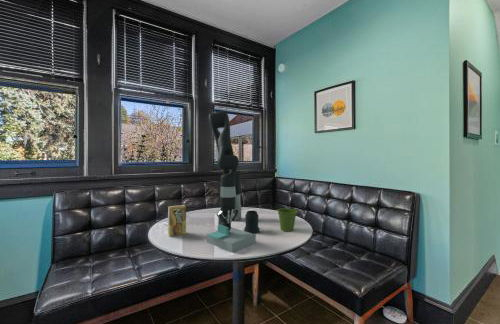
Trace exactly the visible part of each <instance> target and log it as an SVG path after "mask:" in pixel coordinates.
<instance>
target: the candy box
mask: <svg viewBox="0 0 500 324" xmlns="http://www.w3.org/2000/svg"><path fill="white" fill-rule="evenodd" d="M167 209H168V210H167V211H168V212H167V220H168V221H167V234H168V236H169V237H174V236H175V237H176V236H180V235H181V236H182V235H186V234H187V206H186V205H185V204H181V205H171V206H168V207H167Z"/></svg>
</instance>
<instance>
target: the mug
mask: <svg viewBox="0 0 500 324" xmlns="http://www.w3.org/2000/svg"><path fill="white" fill-rule="evenodd" d="M259 216H260V215H259V214H258V212H257V210H247V211H246V213H245V217H244V221H245V226H244V228H243V231H246V232H249V233H252V234H258V233H259V234H260V232H261V231H260V227H259Z"/></svg>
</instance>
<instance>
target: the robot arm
mask: <svg viewBox="0 0 500 324" xmlns="http://www.w3.org/2000/svg"><path fill="white" fill-rule="evenodd" d="M208 121H209V124H210V127H211V130H212V133H213V136H214V139H215V144H216V148H217V152H218V156H217V162H216V164H217V167H218V168H219V169H220V170H222V173H223V174H222V175H221V176H220V189H219V190H220V194H219V195H220V196H219V197H220V198H219V200H220V201H219V203H220V211H219V212H218V213H216V217H218V218H219V219H220V221H221V222H223V223H225V226H226V227H229V231H230V229H231V227H232V222H237V221H240V220H241V219H242V204H241V188H242V173H241V170H238V168H239V164H240V159H239V157H238V156H237V155H236V154H234V148H233V145H232V140H231V127H230V117H229V115H228V111H226V110H220V111H215V112H211V113H209V115H208ZM222 128H223V129H222ZM219 129H222V131H221V132H220V130H219ZM226 219H227V221H226Z"/></svg>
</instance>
